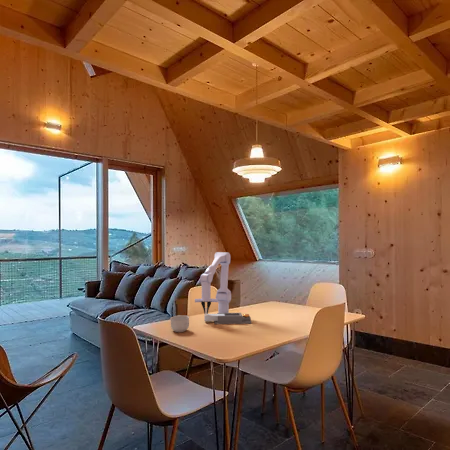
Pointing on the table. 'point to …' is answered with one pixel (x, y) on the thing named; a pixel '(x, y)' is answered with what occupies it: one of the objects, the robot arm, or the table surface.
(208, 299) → the robot arm
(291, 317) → the table surface
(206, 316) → the cartridge
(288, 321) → the table surface
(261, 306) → the table surface
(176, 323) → the teacup
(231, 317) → the housing
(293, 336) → the table surface
